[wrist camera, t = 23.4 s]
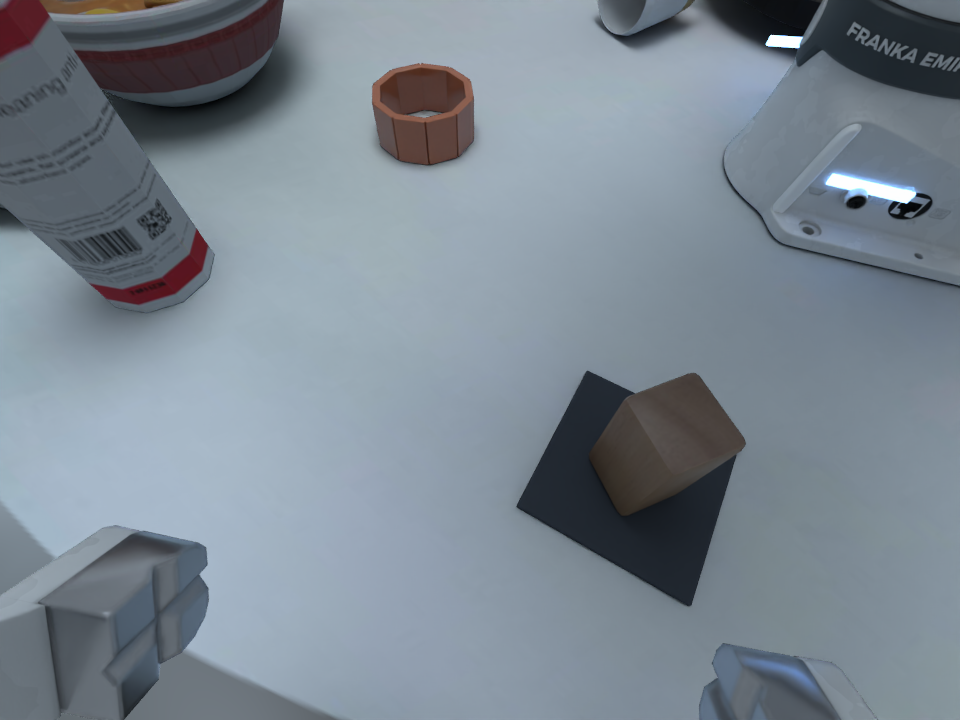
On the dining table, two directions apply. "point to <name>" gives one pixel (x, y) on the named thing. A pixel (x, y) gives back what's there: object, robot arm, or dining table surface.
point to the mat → (593, 517)
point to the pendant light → (637, 13)
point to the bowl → (169, 45)
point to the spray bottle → (87, 173)
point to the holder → (424, 92)
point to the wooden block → (663, 443)
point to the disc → (788, 10)
